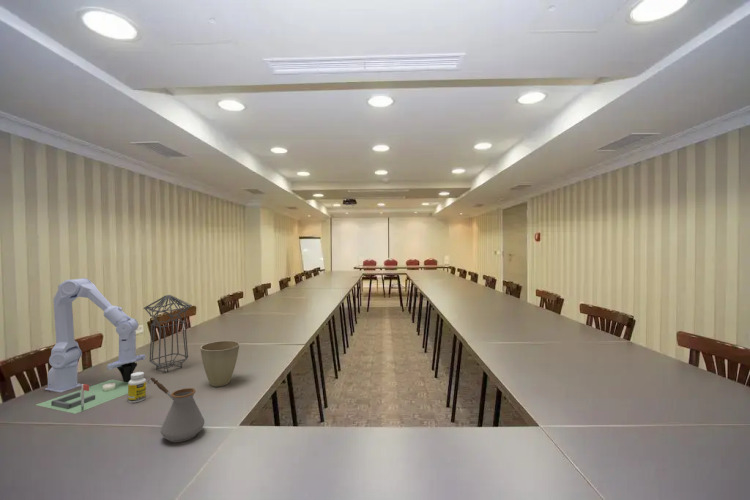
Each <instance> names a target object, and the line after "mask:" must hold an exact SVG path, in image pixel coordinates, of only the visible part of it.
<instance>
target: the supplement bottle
mask: <svg viewBox="0 0 750 500" xmlns="http://www.w3.org/2000/svg"><path fill="white" fill-rule="evenodd" d="M144 376H145V372H143V371H136V372H133V374H131V380H130V381H129V383H128V394H127V402H128V403H132V404H133V403H134V404H135V403H140V402H143V401H144V400H145V399H146V397H147V395H146V394H147V386H146V385H147V379H146V378H145V377H144Z"/></svg>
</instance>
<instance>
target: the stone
mask: <svg viewBox="0 0 750 500" xmlns="http://www.w3.org/2000/svg"><path fill="white" fill-rule="evenodd" d="M114 389H116V383H107V384H104V385H103V391H104V392H107V391H112V390H114Z"/></svg>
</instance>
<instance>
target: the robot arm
mask: <svg viewBox="0 0 750 500" xmlns="http://www.w3.org/2000/svg"><path fill="white" fill-rule="evenodd" d="M57 289H58V290H57V292H56V293H55V295H54V297H53V313H54V315H53V316H54V330H55V331H54V332H55V345H54V346H53V347H52V348H51V350H50V351H51V354H50V356H49V359H48V363H49V365H50V366H51V368H50V369H49V370H48V372H47V387H46V388H45V389H44V390H45V391H51V392H55V393H63V392H66V391H70V390H73V389H75V388H80V387H81V384H82V383H79V382H78V372H79V371H78V365H79V364H78V363H79V360H80V359H81V357H82V355H83V352H82V350H81V348H80V346H79V343H78V341H76V340H75V330H74V329H75V327H74V317H73V315H74V314H73V302H74V301H75V300H76V299H77V298H88V299H89V300H90V301H91V302H92V303H93V304H95V305H96V306H97V307H98V308H99V309H100V310H102V311H103V316H104V317H105V318H106V320H107V321H109V323H111V324H112V325H113V326H114V327H115V332H116V333H117V334H118V359H117V360H116V361H114V362H113V361H112V362H110V363H108V364H107V365H106V369H107V370H108V371H112V370H114V369H117V370H118V371H119V373H120V374H121V377H122V380H123V381H124V382H129V381H130V380H131V374H133V373H134V371H135V370H136V367H137V366H138V363H137V362H139V361H142V360H143V361H144V360H146V354H139V355H136V353H137V351H136V349H137V343H136V342H137V340H136V339H137V337H136V336H137V332H136V331H137V330H138V328H139V322H138V320H137V319H136V318H134V317H133V318H132V317H131V316H129V315H128V314H127V313H126V312H124V311H123V307H121V306H118V305H112V304H111V302H110V301H109V300H108V299H107V298H106V297H105V295H103V293H102V292H100V290H99V289H98V288H97V286H96V284H94V283H93V282H92V281H91V280H90V279H88V278H86V277H81V278H75V279H66V280H64V281H63V282H62V283H60V284H59V285H57Z"/></svg>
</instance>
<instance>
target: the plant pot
mask: <svg viewBox="0 0 750 500" xmlns="http://www.w3.org/2000/svg"><path fill="white" fill-rule="evenodd" d="M239 349H240V343H239V342H238V341H236V340H220V341H218V340H217V341H213V342H212V341H211V342H208V343H205V344H202V345H200V355H201V359H202V360H201V361H202V364H203V368H204V372H205V375H206V377H207V378H206V379H207V381H208V382H209V385H210V386H211V387H223V386H225V385H228V384H229V383H230V382H231V379H232V377H233V374H234V370H235V367H236V364H237V360H238V356H239V354H238V353H239Z"/></svg>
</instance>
